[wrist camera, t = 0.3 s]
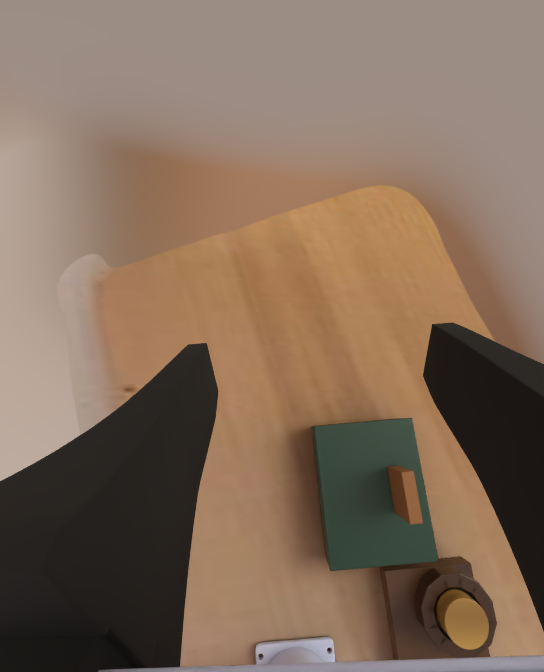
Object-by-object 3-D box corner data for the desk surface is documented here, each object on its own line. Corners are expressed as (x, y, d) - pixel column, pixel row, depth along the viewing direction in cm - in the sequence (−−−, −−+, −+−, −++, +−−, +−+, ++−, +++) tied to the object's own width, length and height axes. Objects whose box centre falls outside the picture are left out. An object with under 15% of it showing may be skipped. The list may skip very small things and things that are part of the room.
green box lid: (410, 418, 37) (428, 417, 33) (436, 559, 34) (461, 580, 29) (313, 426, 37) (318, 427, 32) (329, 569, 33) (337, 592, 29)
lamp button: (482, 635, 32) (494, 647, 30) (440, 639, 32) (449, 651, 30) (472, 587, 33) (483, 596, 31) (432, 590, 33) (440, 600, 31)
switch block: (489, 668, 33) (513, 696, 30) (396, 676, 33) (409, 705, 30) (466, 556, 36) (485, 570, 33) (379, 563, 36) (390, 578, 33)
